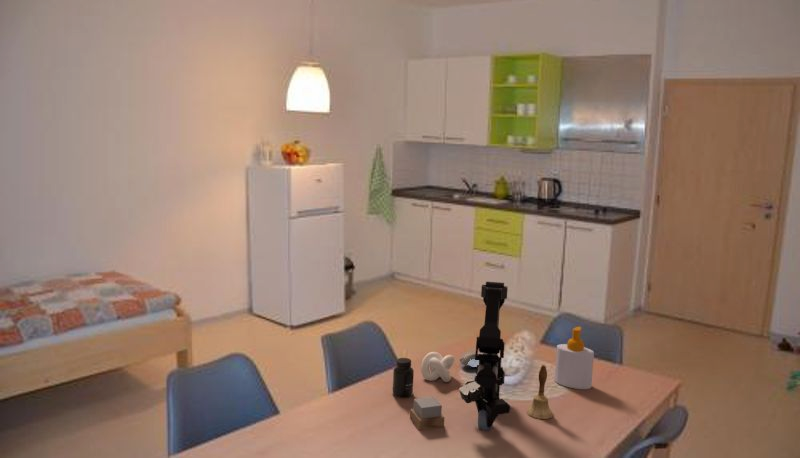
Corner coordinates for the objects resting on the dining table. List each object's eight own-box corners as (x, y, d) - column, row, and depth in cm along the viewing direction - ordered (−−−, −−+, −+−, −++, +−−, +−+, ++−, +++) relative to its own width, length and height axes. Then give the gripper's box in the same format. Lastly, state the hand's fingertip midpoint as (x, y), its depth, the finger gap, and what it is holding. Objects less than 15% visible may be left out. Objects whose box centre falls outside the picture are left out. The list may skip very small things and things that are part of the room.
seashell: (483, 361, 247) (483, 348, 246) (493, 369, 239) (493, 356, 238) (455, 364, 243) (455, 351, 242) (464, 372, 235) (464, 359, 234)
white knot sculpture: (416, 382, 225) (417, 358, 223) (425, 370, 236) (426, 347, 234) (447, 387, 221) (448, 362, 220) (455, 374, 233) (456, 351, 231)
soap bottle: (594, 384, 227) (599, 329, 224) (587, 392, 220) (592, 336, 217) (558, 376, 234) (562, 322, 231) (550, 383, 227) (554, 328, 224)
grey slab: (433, 407, 199) (433, 396, 198) (441, 416, 193) (441, 405, 192) (413, 409, 197) (413, 398, 196) (421, 418, 191) (421, 407, 190)
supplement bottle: (410, 399, 211) (411, 364, 209) (390, 397, 212) (391, 362, 210) (414, 391, 218) (415, 357, 215) (395, 388, 219) (395, 355, 217)
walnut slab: (433, 416, 200) (434, 405, 200) (443, 427, 193) (444, 417, 192) (409, 419, 198) (410, 409, 197) (419, 431, 190) (419, 420, 190)
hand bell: (530, 405, 209) (533, 359, 206) (555, 411, 205) (559, 364, 202) (523, 415, 201) (526, 367, 199) (549, 421, 198) (553, 373, 195)
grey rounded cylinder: (488, 422, 196) (489, 408, 195) (495, 429, 192) (496, 415, 191) (475, 424, 195) (475, 410, 194) (481, 431, 191) (482, 417, 190)
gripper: (450, 366, 197) (448, 413, 199) (477, 390, 179) (475, 442, 182) (482, 362, 200) (480, 409, 203) (512, 385, 183) (509, 436, 186)
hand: (485, 423), depth 193 cm, fingers closed on grey rounded cylinder, 4 cm apart
